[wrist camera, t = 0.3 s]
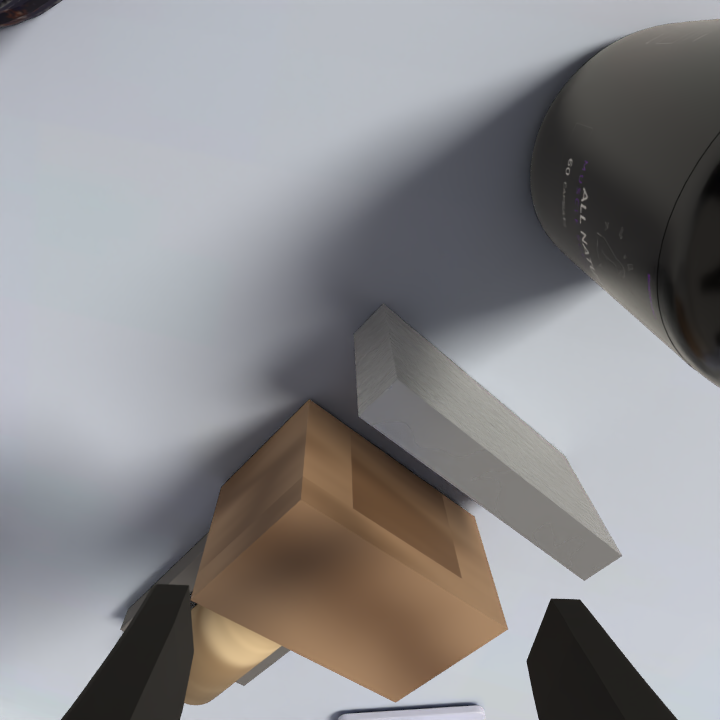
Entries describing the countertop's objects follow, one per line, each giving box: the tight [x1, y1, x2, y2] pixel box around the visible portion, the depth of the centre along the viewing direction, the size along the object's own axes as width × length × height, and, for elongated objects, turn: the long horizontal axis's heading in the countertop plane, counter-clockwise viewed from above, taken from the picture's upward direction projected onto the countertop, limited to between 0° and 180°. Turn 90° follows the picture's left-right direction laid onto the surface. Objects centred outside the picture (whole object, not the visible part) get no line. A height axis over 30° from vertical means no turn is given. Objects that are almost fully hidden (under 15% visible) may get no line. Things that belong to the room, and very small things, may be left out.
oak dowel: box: [184, 604, 281, 705], centre depth 24 cm, size 7×4×4 cm, turn 138°
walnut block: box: [190, 399, 508, 703], centre depth 20 cm, size 6×9×5 cm, turn 48°
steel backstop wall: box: [354, 304, 622, 580], centre depth 18 cm, size 2×10×5 cm, turn 48°
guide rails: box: [120, 532, 290, 686], centre depth 25 cm, size 8×7×1 cm
